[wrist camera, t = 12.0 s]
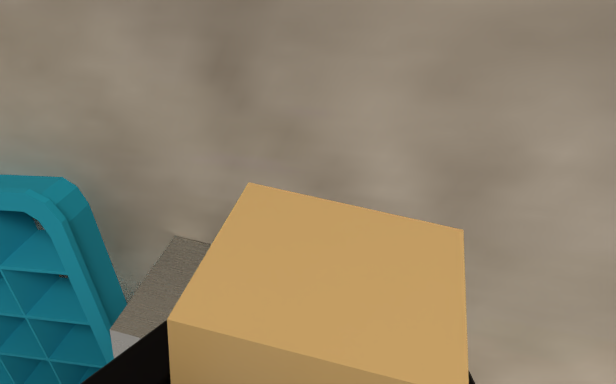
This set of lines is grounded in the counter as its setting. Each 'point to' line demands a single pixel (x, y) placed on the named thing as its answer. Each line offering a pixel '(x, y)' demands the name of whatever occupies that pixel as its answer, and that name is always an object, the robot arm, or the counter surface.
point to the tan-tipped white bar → (322, 298)
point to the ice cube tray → (53, 284)
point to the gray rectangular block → (157, 293)
